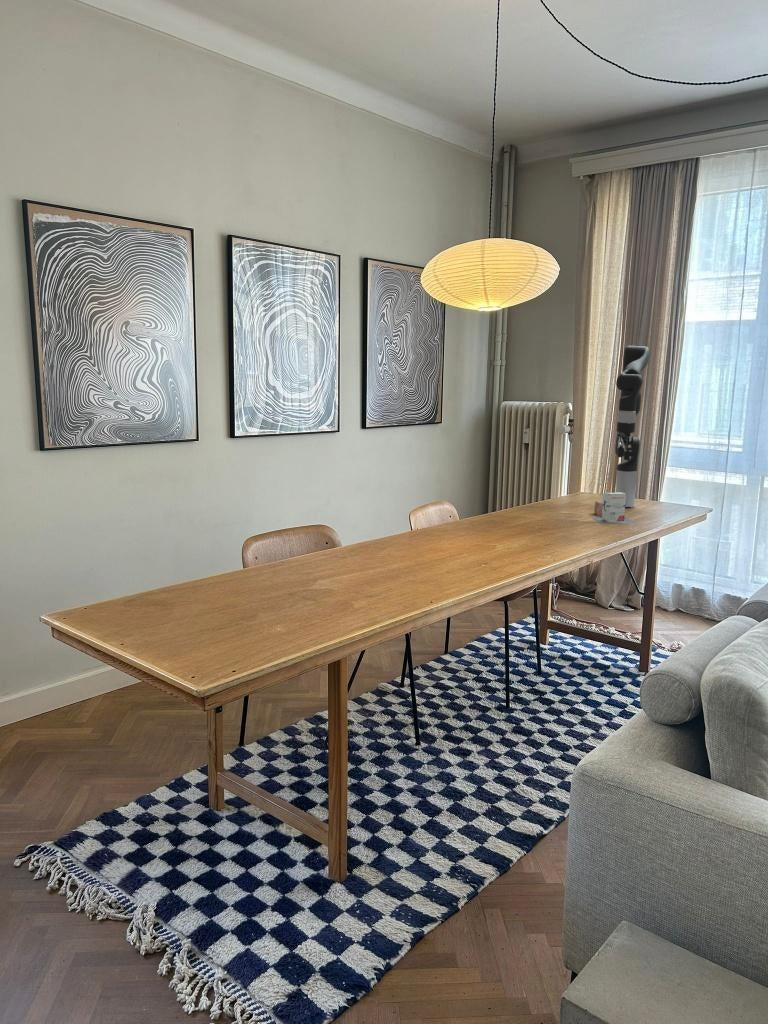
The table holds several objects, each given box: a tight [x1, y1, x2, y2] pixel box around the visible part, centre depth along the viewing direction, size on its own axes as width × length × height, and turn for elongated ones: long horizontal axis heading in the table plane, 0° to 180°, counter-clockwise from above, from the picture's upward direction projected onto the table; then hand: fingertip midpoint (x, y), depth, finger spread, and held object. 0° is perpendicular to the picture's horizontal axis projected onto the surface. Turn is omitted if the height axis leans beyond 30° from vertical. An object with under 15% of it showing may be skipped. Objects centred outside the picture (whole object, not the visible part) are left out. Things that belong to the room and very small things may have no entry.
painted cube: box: [593, 500, 603, 517], centre depth 345 cm, size 6×6×6 cm
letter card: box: [589, 516, 638, 525], centre depth 331 cm, size 16×16×1 cm
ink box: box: [601, 492, 626, 522], centre depth 330 cm, size 9×5×12 cm, turn 110°
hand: (623, 458), depth 334 cm, fingers open, 8 cm apart
